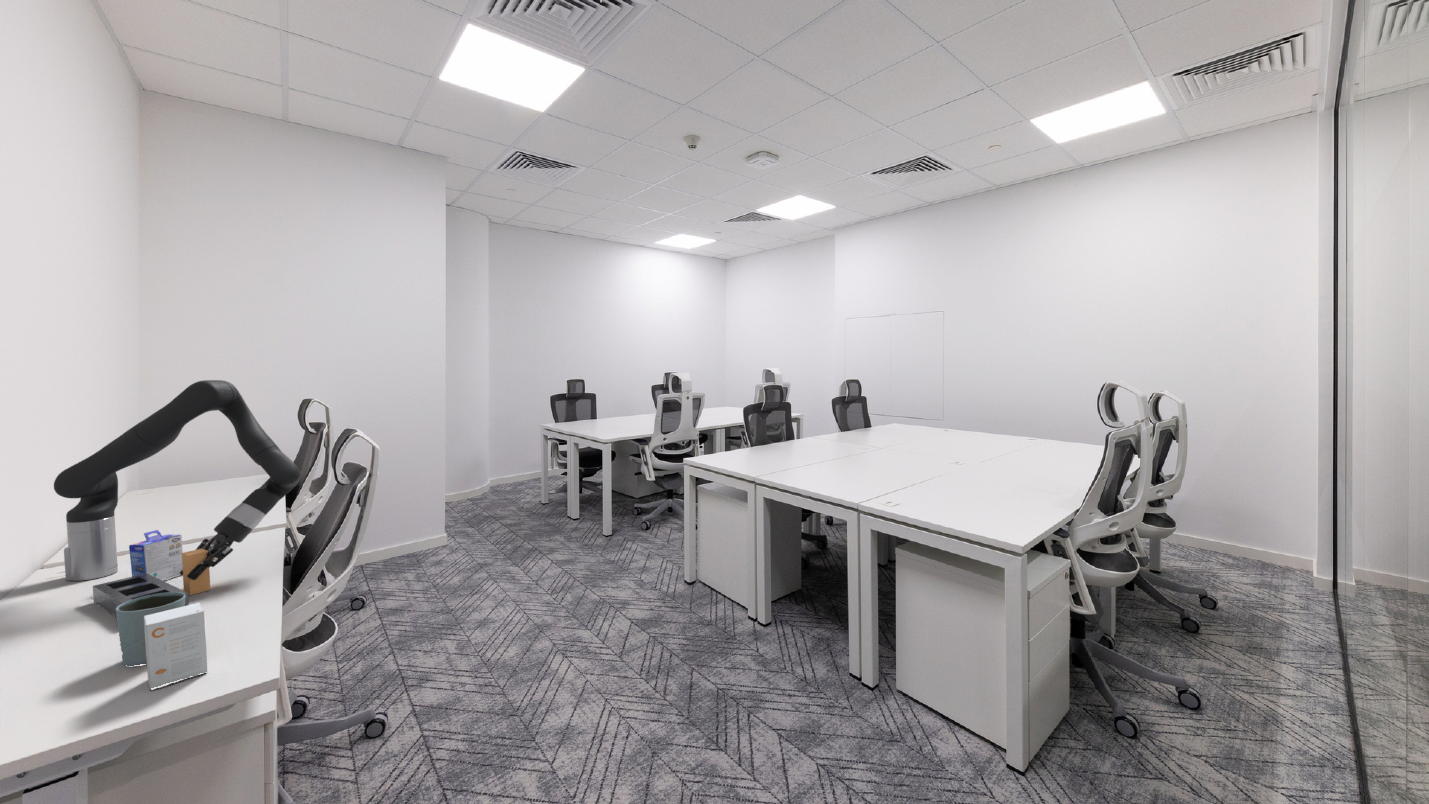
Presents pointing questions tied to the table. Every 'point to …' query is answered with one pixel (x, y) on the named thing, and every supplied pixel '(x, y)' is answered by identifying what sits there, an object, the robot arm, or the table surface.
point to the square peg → (188, 565)
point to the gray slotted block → (130, 591)
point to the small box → (175, 644)
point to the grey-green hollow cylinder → (141, 622)
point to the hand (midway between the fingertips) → (187, 576)
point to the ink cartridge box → (157, 556)
